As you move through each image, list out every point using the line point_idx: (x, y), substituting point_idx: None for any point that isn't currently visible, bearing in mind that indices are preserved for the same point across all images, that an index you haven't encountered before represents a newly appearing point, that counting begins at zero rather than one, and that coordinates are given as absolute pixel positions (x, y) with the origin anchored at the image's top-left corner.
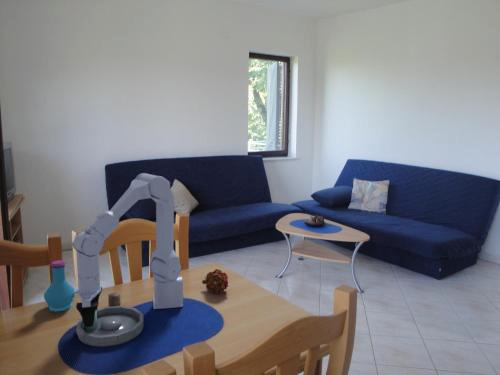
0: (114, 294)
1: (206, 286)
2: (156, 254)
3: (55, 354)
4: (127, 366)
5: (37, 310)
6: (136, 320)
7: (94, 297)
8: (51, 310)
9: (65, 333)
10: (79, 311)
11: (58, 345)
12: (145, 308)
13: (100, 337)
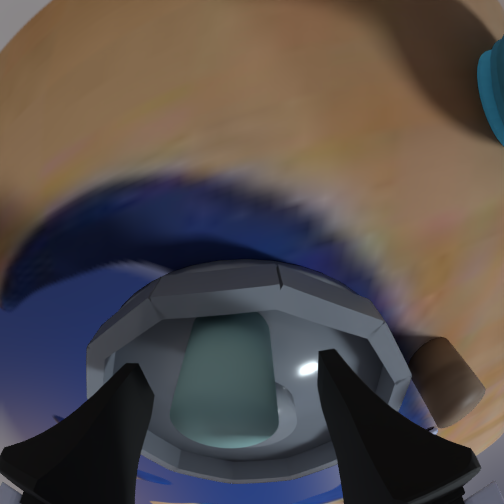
0: (466, 406)
1: None
2: None
3: (28, 213)
4: (57, 416)
5: (470, 4)
6: (285, 453)
7: (347, 486)
8: (480, 57)
9: (212, 182)
10: (28, 443)
11: (84, 193)
12: None
13: None
